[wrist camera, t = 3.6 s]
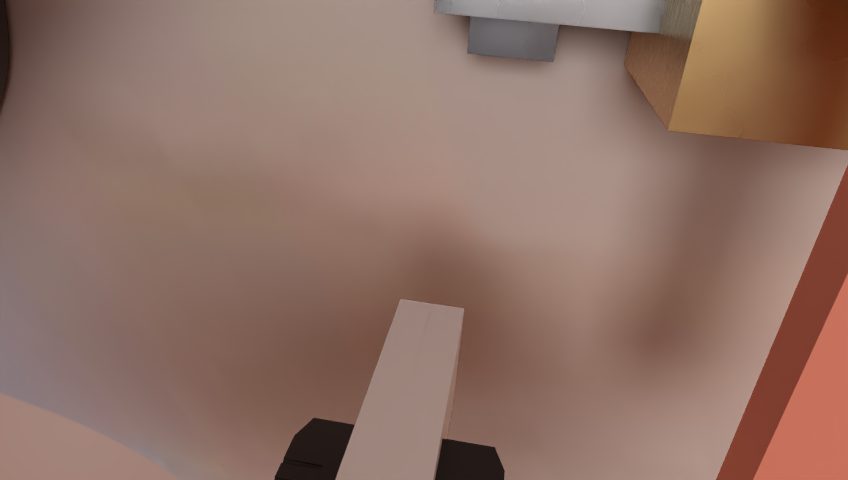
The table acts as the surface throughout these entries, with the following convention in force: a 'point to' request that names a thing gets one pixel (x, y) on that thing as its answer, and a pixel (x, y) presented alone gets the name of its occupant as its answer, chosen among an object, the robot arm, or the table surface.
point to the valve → (701, 58)
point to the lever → (804, 374)
